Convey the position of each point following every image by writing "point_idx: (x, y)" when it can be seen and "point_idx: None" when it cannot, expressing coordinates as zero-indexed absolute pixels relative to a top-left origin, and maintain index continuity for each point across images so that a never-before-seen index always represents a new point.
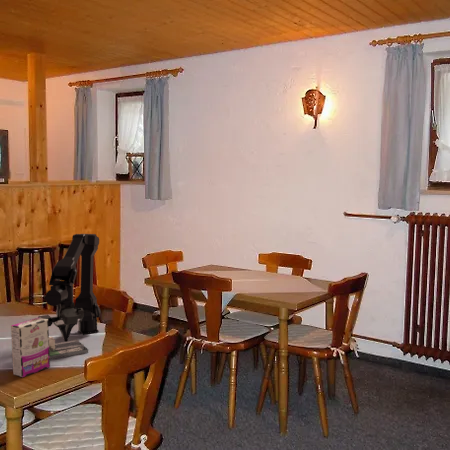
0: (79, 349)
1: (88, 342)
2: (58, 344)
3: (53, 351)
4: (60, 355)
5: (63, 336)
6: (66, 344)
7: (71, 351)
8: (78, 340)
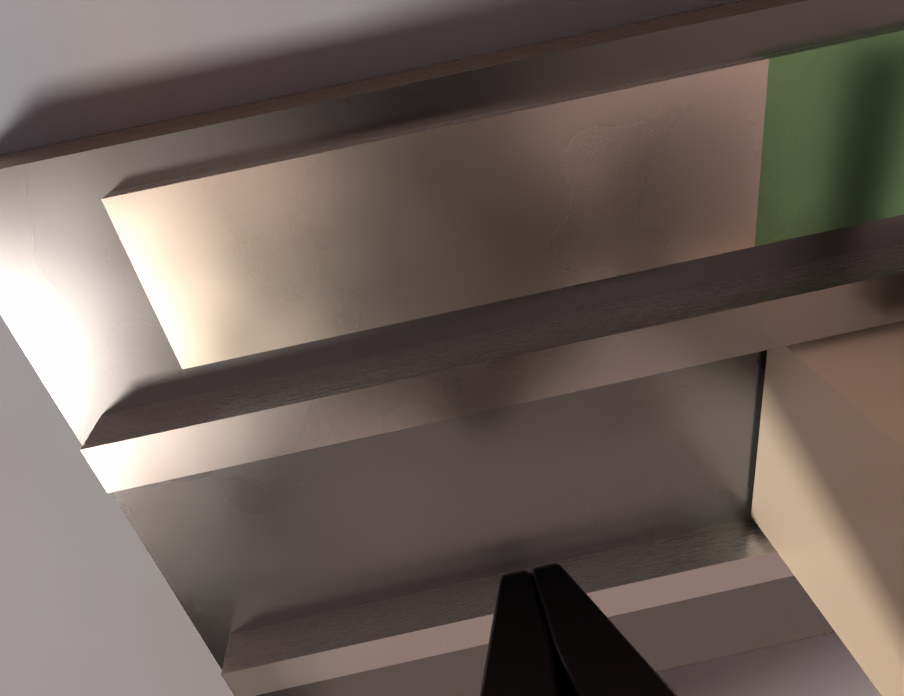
0: (185, 192)
1: (83, 693)
2: (638, 576)
3: (835, 265)
4: (730, 11)
5: (668, 693)
6: (475, 588)
7: (425, 125)
8: (232, 690)
